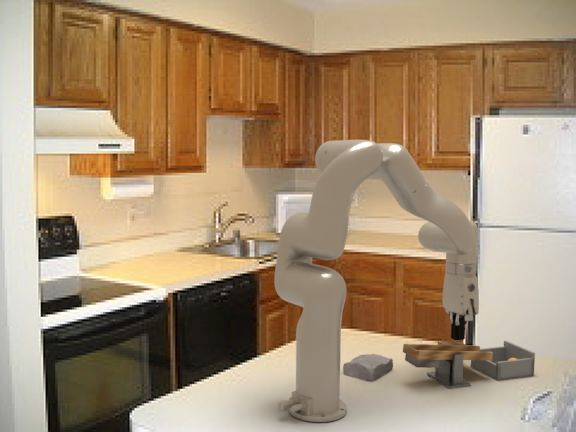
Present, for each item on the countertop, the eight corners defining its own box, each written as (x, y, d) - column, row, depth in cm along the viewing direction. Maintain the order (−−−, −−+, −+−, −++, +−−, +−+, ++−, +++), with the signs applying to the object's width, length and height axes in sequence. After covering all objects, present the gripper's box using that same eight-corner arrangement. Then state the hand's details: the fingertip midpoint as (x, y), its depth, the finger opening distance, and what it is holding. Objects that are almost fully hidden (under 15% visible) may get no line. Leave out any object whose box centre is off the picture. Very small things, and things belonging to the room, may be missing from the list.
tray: (497, 380, 156) (498, 357, 155) (470, 366, 166) (471, 344, 165) (533, 375, 159) (534, 352, 159) (505, 362, 170) (506, 340, 169)
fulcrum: (449, 388, 150) (450, 356, 149) (426, 374, 159) (427, 344, 159) (470, 385, 152) (471, 354, 151) (447, 372, 161) (448, 342, 161)
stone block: (340, 382, 159) (375, 382, 153) (337, 363, 160) (372, 363, 154) (363, 371, 169) (396, 371, 163) (360, 353, 169) (394, 352, 163)
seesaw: (414, 367, 148) (416, 351, 148) (386, 350, 161) (388, 335, 161) (490, 368, 156) (493, 352, 156) (458, 352, 168) (460, 337, 168)
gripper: (491, 273, 156) (488, 346, 157) (456, 263, 170) (453, 330, 171) (465, 275, 153) (462, 348, 155) (432, 264, 167) (429, 332, 169)
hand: (457, 338), depth 163 cm, fingers closed
